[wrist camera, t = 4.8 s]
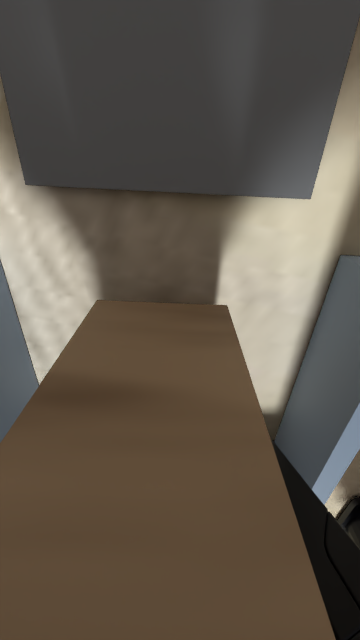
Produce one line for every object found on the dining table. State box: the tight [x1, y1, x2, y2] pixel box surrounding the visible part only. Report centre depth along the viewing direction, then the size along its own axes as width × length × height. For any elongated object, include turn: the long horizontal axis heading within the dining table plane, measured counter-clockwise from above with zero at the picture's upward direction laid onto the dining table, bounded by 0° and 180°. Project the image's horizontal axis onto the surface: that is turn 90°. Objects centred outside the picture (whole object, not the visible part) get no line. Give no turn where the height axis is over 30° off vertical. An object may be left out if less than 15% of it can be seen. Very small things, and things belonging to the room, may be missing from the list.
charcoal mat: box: [0, 0, 360, 199], centre depth 7 cm, size 9×10×1 cm
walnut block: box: [0, 300, 336, 640], centre depth 7 cm, size 5×5×9 cm
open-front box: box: [0, 255, 360, 504], centre depth 12 cm, size 14×16×4 cm
